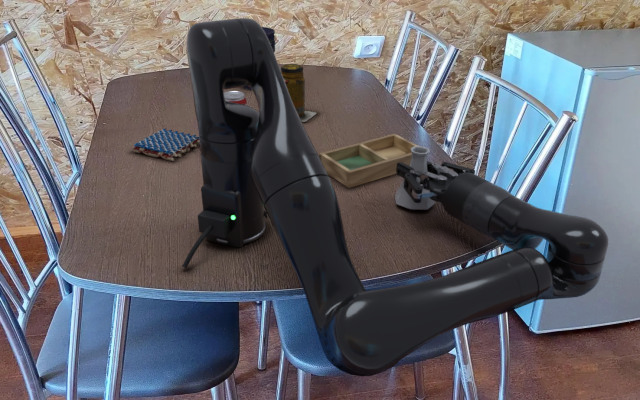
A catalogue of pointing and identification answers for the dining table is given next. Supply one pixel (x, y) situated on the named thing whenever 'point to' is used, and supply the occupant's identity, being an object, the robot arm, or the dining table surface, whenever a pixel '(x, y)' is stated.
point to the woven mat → (166, 144)
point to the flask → (420, 165)
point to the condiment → (296, 89)
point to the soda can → (235, 97)
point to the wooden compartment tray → (367, 160)
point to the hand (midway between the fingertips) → (407, 164)
